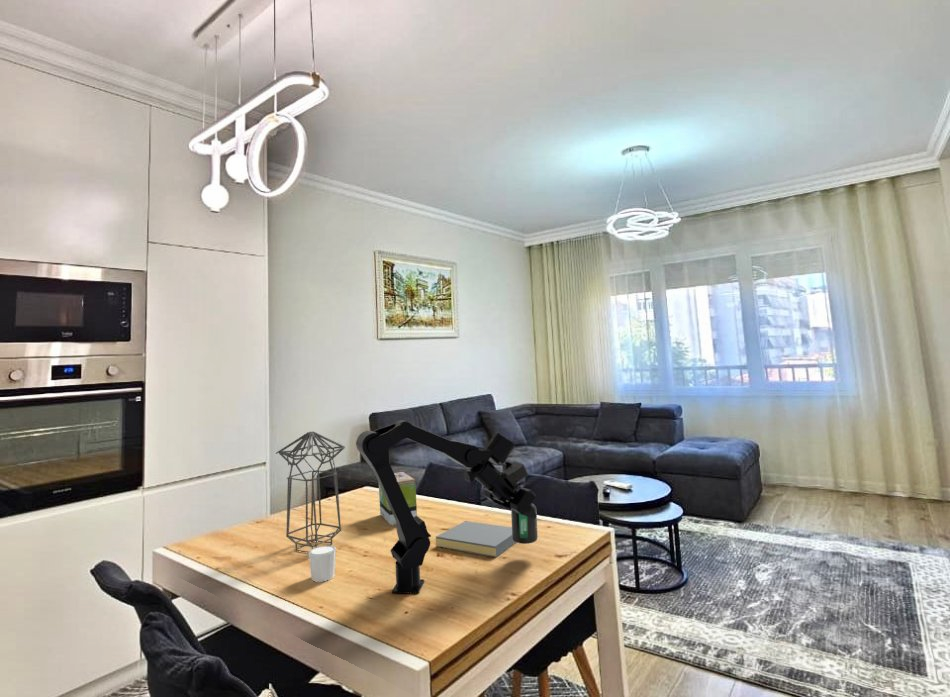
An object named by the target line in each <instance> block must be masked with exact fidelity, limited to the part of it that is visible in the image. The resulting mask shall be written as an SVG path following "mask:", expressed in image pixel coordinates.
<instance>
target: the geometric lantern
mask: <svg viewBox="0 0 950 697" xmlns="http://www.w3.org/2000/svg"><path fill="white" fill-rule="evenodd" d="M328 442H330V443H332V444H334V445H335V446H334V447H333V446H331V444H329V443H328ZM296 443H297V444H296ZM318 443H320V444H318ZM295 444H296V445H295ZM293 445H295V446H294V448H292V449H291V450H287V449H288V448H290V447H291V446H293ZM314 447H316V448H317V450H318V452H314ZM322 448H323V449H325V450H326V452H325V451H324V450H323V449H322ZM344 449H346V446H345V445H342V444H341V443H338V442H336V441H334V440H332V439H330V438H328V437H327V436H326V437H325V436H324V435H322V434H319V433H317V432H315V431H309V432H306V433H305V434H303V435H302V436H300V437H298V438H296V439H295V440H294V441H292V442H290V443H288V444H287V445H285V446H284V447H282V448H281V449H279V450H278V451H276V452H275V454H276V455H277V454H278V455H280V456H281V457H282V458H283V459H284V461H286V462H287V466H290V470H289V475H288V477H286V480H287V498H286V500H287V501H286V502H287V503H286V534H285V535H286V538H288V540H290V541H291V542H293V544H295V549H294V551H295V550H296V551H295V552H299V551H301V552H300V553H306V552H307V554H308V552H309V551H310V550H308V551H306V550H300V548H299V547H301V546H303V547H305V546H306V547H310V548H311V549H313V548H316V547H318V546H319V545H321V544H324V543H325V544H328V545H326V546H333V539H334V538H335V537H336V536H337V535H338V534H339V533H341V532H342V525H341V512H340V510H341V509H340V499H339V486H338V473H337V470H336V465H335V460H334V459H335V458H336V457H337V456H338V455H339V454H340V453H341V452H342V451H344ZM305 450H306V451H305ZM310 450H311V454H309V452H310ZM330 450H332V451H330ZM299 451H300V454H298V453H299ZM304 451H305V453H304V454H303V452H304ZM335 452H336V453H335ZM331 454H332V455H331ZM317 455H319V456H320V458H319V457H318V456H317ZM309 456H310V457H314V458H315V459H316V460H317V461H319V462H320V464H319V465H318V467H317V470H315V469H314V468H313V467H312V465H311V464H310V463H309V462H308V461H307V460H306V457H309ZM323 456H324V457H323ZM326 457H327V458H329V459H328V460H326ZM290 459H292V462H291V461H290ZM325 460H326V461H325ZM295 461H297V462H295ZM302 461H305V463H307V465H308V467H310V468H311V469H312V470H308V471H303V472H302V470H301V468H300V467H299V463H301V462H302ZM327 463H329V465H330V468H331V471H328V470H327V471H326V470H320V469H321V467H322V466H323V465H325V464H327ZM294 466H295V467H296V468H297V470H298V471H299V473H297V474H293V475H292V472H293V468H294ZM308 473H311V478H310V479H309V478H308V479H307V478H306V477H305V474H308ZM320 473H326V474H327V473H330V474H328V475H325V476H320ZM300 475H301V476H302V478H301V479H300V478H295V477H296V476H300ZM316 475H317V478H315V476H316ZM332 476H333V484H334V493H335V502H336V512H337V519H338V520H337V521H338V525H334V524H327V523H322V505H321V503H322V502H321V501H322V500H321V485H320V484H321V482H320V480H321V479H323V478H324V479H325V478H328V477H332ZM293 477H294V478H293ZM293 480H294V481H300V482H301V481H302V482H305V526H302V527H300V528H297V529H295V530H291V531H290V521H291V520H290V519H291V504H292V503H291V501H292V500H291V499H292V485H293V483H292V482H293ZM315 481H317V489H318V490H317V492H318V493H317V494H318V514H319V522H318V523H317V513H316V512H317V511H316V510H317V509H316V497H315V484H314V483H315ZM308 482H311V498H310V499H311V502H310V503H311V504H310V505H311V506H310V507H311V509H310V524H308V523H309V520H308V518H309V517H308V515H309V508H308V507H309V506H308V504H309V502H308V501H309V500H308V498H309V496H308V495H309V494H308V493H309V492H308V491H309V490H308ZM313 522H314V523H313ZM313 526H314V529H313ZM320 526H326V527H330V528H336V530H335V531H333V532H330V533H327V534H325V535H324V534H318V531H319V528H320ZM309 527H310V529H311V530H310V531H311V534H310V535H309ZM301 530H305V537H303V538H301V537H296V536H294V535H293V536H292V535H291V534H294V533H297V532H298V531H301ZM313 530H314V531H313ZM313 537H314V538H313ZM309 538H311V539H309ZM324 538H328V539H325V540H321V539H324ZM296 540H297V541H296ZM313 541H316V542H313ZM317 541H318V542H317ZM300 542H306V543H300ZM310 542H312V543H314V545H313V544H311V543H310ZM298 545H299V546H298ZM304 545H305V546H304ZM297 548H299V549H297ZM301 548H302V547H301Z"/></svg>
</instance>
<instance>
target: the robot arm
mask: <svg viewBox="0 0 950 697" xmlns="http://www.w3.org/2000/svg"><path fill="white" fill-rule="evenodd" d="M405 439H408V440H409V441H412V442H414V443H417V444H420V445H422V446H425V447H427V448H430V449H431V450H434V451H437V452H439V453H441V454H443V455H444V456H445V457H446V458H448V459H449V460H451V461H453V462H454V463H456V464H458V465H460V466H463V467H466V468H467V469H465V470H464V480H465V481H467V482H469V483H472V482H474V480H476V481H477V482H478V483H479V484H481V486H483V489H484V497H485V498H486V499H488V501H491V502H492V503H495V504H496V505H498V506H500V507H501V506H502V507H504V508H506V509H509V510H511V508H512V509H513V510H514V512H516V513H518V514H521V515H524V516H528V517H531V518H534V519H535V518H536V516H537V517H538V514H537V515H536V513H535V511H534V509H533V507H532V505H531V503H532V504H533V502H534V500H535V499H536V497H537V494H536V493H535V492H534V491H532V489H529V488H526V487H521V488H519V489H518V490H516V489H517V488H518V486H519V484H518V483H519V482H520V481H521V480H523V479H524V478H526V477H528V476H529V473H528V471H527V469H526V467H525V465H524V463H522V462H510V461H508V458H509V457H510V456H511V454H513V451H514V450H515V448H516V446H515V444H514V443H513V442H512V441H511V440H509V439H508V438H506V437H505V436H503V435H501V434H500V433H499V432H493V433H492V435H491V438H490V439H489V440H488V442H487V443H486V444H485V446H484V447H482V446H477V445H474V444H470V443H468V442H467V443H466V442H462V441H458V440H452V439H448V438H446V437H445V436H444V437H443V436H442V435H438V434H436V433H433V432H432V431H429V430H427V429H425V428H422V427H420V426H418V425H415V424H412V423H411V422H410V421H406V420H402V419H400V420H398V421H396V422H394V423H391V424H389V425H386V426H383V427H380V428H377V429H375V430H373V431H372V430H365V431H363V432H362V433H360V434H359V435H358V436H357V438H356V442H355V445H356V449H357V450H358V451H359V453H360V455H361V456H362V458H363V459H364V461H365V462H366V463H367V464H368V466H370V468H371V470H372V471H373V473H374V474H375V477H376V479H377V482H378V485H379V484H380V486H381V489H382V491H383V493H384V495H385V498H386V500H387V502H388V504H389V506H390V509H391V511H392V513H393V515H394V518H395V520H396V533H397V538H398V540H397V541H396V542H395V544H394V545H393V546H392V548H391V549H390V554H391V556H392V558H393V559H394V560H395V579H396V580H395V581H396V582H395V585H394V587H393V588H392V590H391V593H392V594H419V593H420V592H421V590H422V587H423V585H424V584H425V579H421V570H420V569H421V568H420V566H423V563H424V560H425V556H426V554H427V553H428V551H429V549H430V547H431V540H430V538H431V537H432V535H431V534H430V532H428V529H427V525H426V522H425V521H424V520H423V519H421V518H420V517H419V516H418V515H417V516H415V517H413V515H412V513H411V511H410V508H409V506H408V504H407V502H406V499H405V497H404V495H403V493H402V490H401V488H400V486H399V484H398V481H397V479H396V477H395V474H394V473H395V472H394V470H393V468H392V466H391V460H390V459H391V458H390V450H389V449H390V448H392V447H394V446H396V445H397V444H398V443H400V442H402V441H404V440H405ZM499 464H500V465H502V471H500V470H499V469H498V468H497V467H496V466H499ZM495 465H496V466H495ZM468 468H469V469H468Z"/></svg>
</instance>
